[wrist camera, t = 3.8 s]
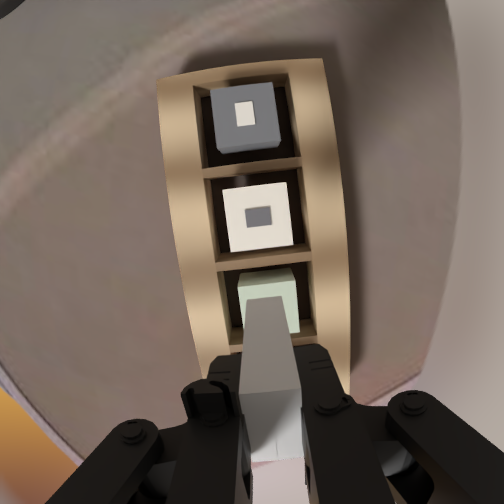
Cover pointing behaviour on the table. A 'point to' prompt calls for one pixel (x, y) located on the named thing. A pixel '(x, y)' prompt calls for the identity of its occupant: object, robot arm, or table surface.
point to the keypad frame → (305, 161)
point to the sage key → (271, 292)
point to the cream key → (258, 217)
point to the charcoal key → (245, 118)
